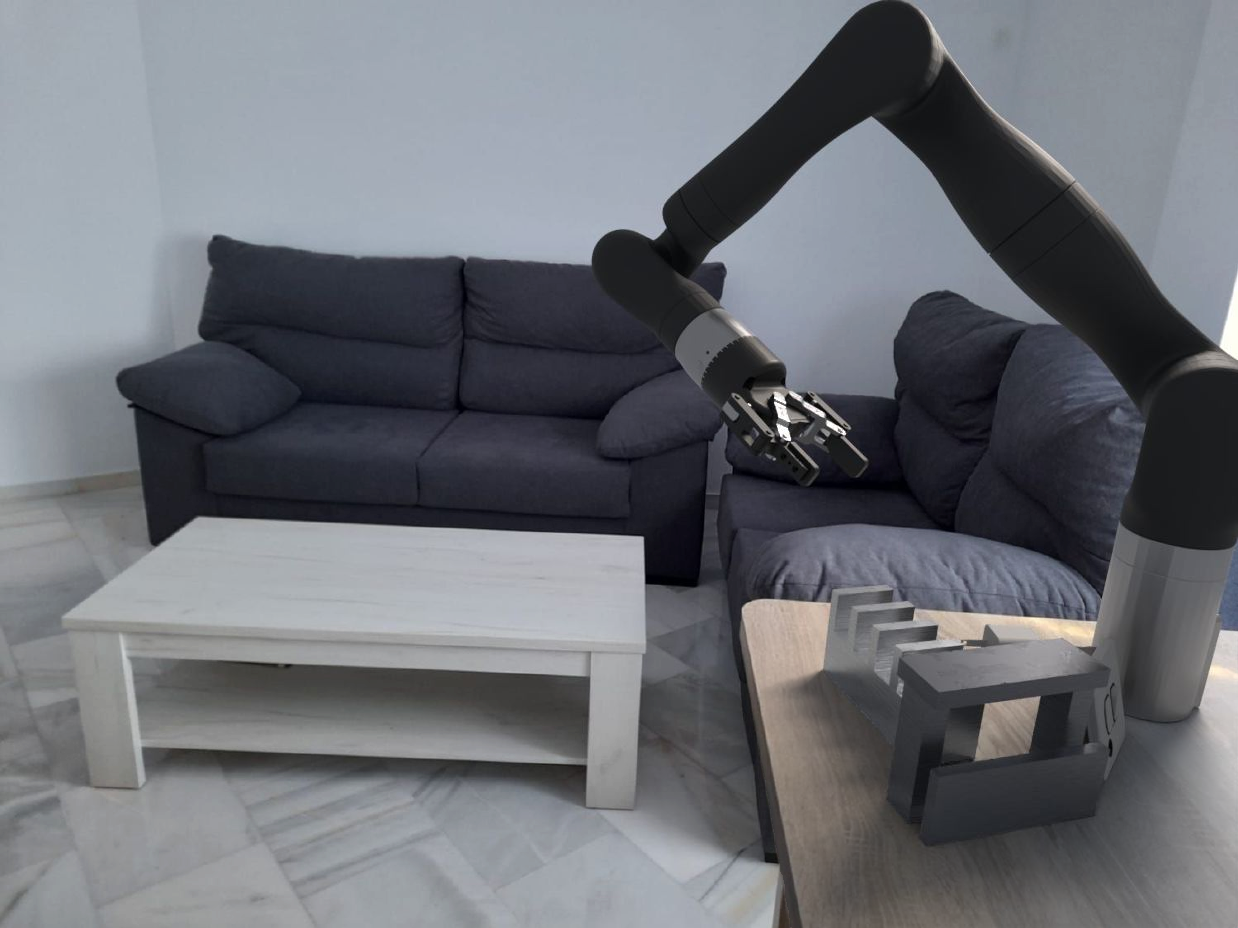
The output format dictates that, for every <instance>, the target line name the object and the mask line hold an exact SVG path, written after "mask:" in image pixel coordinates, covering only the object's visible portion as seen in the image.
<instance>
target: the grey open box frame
mask: <svg viewBox="0 0 1238 928" xmlns="http://www.w3.org/2000/svg"><path fill="white" fill-rule="evenodd" d="M1076 646H1077V645H1075V644H1073V643H1071V642H1069V641H1068V640H1067V639H1065V638H1064V637H1060V638H1059V637H1058V638H1051V639H1050V638H1048V639H1043V640H1040V641H1032V642H1023V643H1015V644H1006V645H998V646H989V647H974V648H967V649H966V648H965V649H964V648H963V650H956V651H947V652H939V653H930V654H922V655H913V656H905V657H899V663H898V670H897V675H898V676H899V677H900V678H901V679H902V680H903V681H904V685H903V692H902V699H901V705H900V712H899V718H898V725H897V731H896V738H895V745H894V746H893V752H892V760H891V767H890V771H889V776H888V777H889V779H888V786H887V790H886V791H887V792H886V800H887V801H888V802H889V803H890V805H891V806H893V808H894V809H895V810H896V812H898V814H899V815H900V816H901V818H903V820H904V821H905V822H906V823H907V824H913V823H919V822H921V826H920V831H919V839H920V840H921V841H922V842H923V843H924V845H926V847H932V846H937V845H943V844H949V843H954V842H959V841H964V840H969V839H974V838H975V839H976V838H981V837H984V836H985V837H986V836H991V835H996V834H1002V833H1007V832H1013V831H1018V830H1024V829H1029V828H1035V827H1039V826H1046V825H1050V824H1055V823H1060V822H1061V823H1062V822H1067V821H1072V820H1077V819H1083V818H1089V817H1094V816H1095V815H1096V812H1097V808H1098V807H1097V806H1098V803H1099V798H1100V794H1101V790H1102V785H1103V782H1104V781H1103V778H1104V774H1105V770H1106V765H1107V761H1108V757H1109V753H1110V749H1109V748H1108V747H1106V746H1105V745H1104V744H1102V743H1101V742H1096V743H1089V744H1083V739H1084V735H1085V730H1086V726H1087V722H1088V717H1089V713H1090V708H1091V704H1092V699H1093V695H1094V691H1095V689H1096V688H1103V687H1107V685H1108V680H1109V676H1110V672H1111V669H1109V668H1108V667H1106V666H1105V665H1103V664H1102V663H1100V662H1099V661H1097V660H1096V659H1094V658H1093V657H1091V656H1090V655H1088V654H1086V653H1085V652H1083V651H1082V650H1080V649H1079V648H1077V647H1078V646H1077V647H1076ZM1037 697H1039V703H1038V707H1037V712H1036V716H1035V721H1034V727H1033V731H1032V736H1031V741H1030V747H1029V751H1028V752H1027V753H1021V754H1015V755H1014V754H1013V755H1009V756H1003V757H997V758H990V759H983V760H982V759H981V760H978V761H970V762H964V763H957V764H952V765H946V766H945V765H944V766H941V764H942V763H941V757H942V751H943V745H944V739H945V734H946V728H947V722H948V716H949V710H950V709H952V708H959V707H966V706H973V705H981V704H985V705H986V704H992V703H1001V702H1008V701H1009V702H1010V701H1015V700H1022V699H1024V700H1025V699H1030V698H1037ZM1082 744H1083V745H1082Z"/></svg>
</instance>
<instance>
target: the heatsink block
mask: <svg viewBox="0 0 1238 928" xmlns="http://www.w3.org/2000/svg"><path fill="white" fill-rule="evenodd" d="M894 590H895V589H894V588H892V587H891V586H889V585H888V584H878V585H869V586H868V585H866V586H860V587H859V586H858V587H845V588H834V589H832V591H831V599H830V608H829V615H828V616H829V617H828V625H827V632H826V643H825V648H824V649H825V650H824V657H823V664H822V665H823V666H822V667H823V668H822V670H823V671H824V672H825V674H827V676H828V677H829V678H830V680H832V681H833V682H834V683H835V684H836V685H837V687H838V688H839V689H840V690H841V691H842V692H843V693H844V694H845V695H846V696H847V698H849V700H850V701H851V702H852V703H854V705H855V706H856V707H857V708H858V709H859V710H860V712H861V713H862V714H863V715H864V716H865V717H866V718H867V719H868V720H869V721H870V722H871V724H872V725H873V726H876V727H875V728H876V729H877V728H878V729H879V730H878V729H877V730H878V731H879V732H880V733H881V734H882V735H883V737H885V739H886V740H887V741H888V742H889V743H890V744H891V745H892V746H893V747H894V745H895V738H896V731H897V725H898V718H899V712H900V705H901V699H902V692H903V685H904V681H903V680H902V679H901V678H900V677H899V676H898V675H897V670H898V663H899V657H905V656H913V655H922V654H930V653H939V652H947V651H956V650H964V647H965V646H964V644H965V643H963V644H962V643H961V640H959V639H957V637H955V638H954V637H952V638H945V639H944V638H943V639H937V635H938V631H939V624H938V623H937V622H936V621H934V620H933V619H931V618H925V619H914V618H915V617H914V616H915V609H916V606H915V605H914V604H913V603H911V602H910V601H909V600H907V601H906V600H905V601H904V600H903V601H896V602H895V601H894V602H893V599H894V598H893V597H894ZM985 707H986V704H981V705H973V706H966V707H959V708H952V709H950V710H949V716H948V722H947V728H946V734H945V739H944V745H943V751H942V757H941V763H940V764H945V763H953V762H960V761H965V760H967V761H968V760H972V759H976V754H977V749H978V744H979V739H980V733H981V727H982V722H983V717H984V712H985Z"/></svg>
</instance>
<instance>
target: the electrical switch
mask: <svg viewBox="0 0 1238 928" xmlns="http://www.w3.org/2000/svg"><path fill="white" fill-rule="evenodd" d="M1075 646H1076V647H1077V648H1079V649H1080V650H1082V651H1083V652H1085V653H1086V654H1088V655H1090V656H1091V657H1093V658H1094V659H1096V660H1097V661H1099V662H1100V663H1102V664H1103V665H1105V666H1106V667H1108V668H1109V669H1111V672H1110V676H1109V680H1108V685H1107V687H1103V688H1096V689H1095V691H1094V695H1093V699H1092V704H1091V708H1090V713H1089V717H1088V722H1087V726H1086V730H1085V735H1084V739H1083V744H1089V743H1096V742H1101V743H1102V744H1104V745H1105V746H1106V747H1108V748H1109V749H1110V753H1109V757H1108V761H1107V765H1106V770H1105V774H1104V778H1103V782H1105V781H1106V782H1107V780H1108V777H1109V775H1110V773H1111V771H1112V768H1113V766H1114V764H1115V760H1116V758H1117V756H1118V754H1119V752H1120V749H1121V747H1122V745H1123V742H1124V739H1125V738H1126V723H1125V722H1126V721H1125V713H1124V710H1123V702H1122V694H1121V686H1120V677H1119V669H1118V663H1117V656H1116V650H1115V644H1114V641H1113V640H1111V639H1104V638H1102V640H1101V642H1100V643H1099V645H1098V647H1091V645H1090V646H1087V645H1086V646H1077V645H1075ZM1083 744H1082V745H1083Z"/></svg>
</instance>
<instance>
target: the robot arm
mask: <svg viewBox="0 0 1238 928" xmlns="http://www.w3.org/2000/svg"><path fill="white" fill-rule="evenodd" d="M869 118H873V120H876V121H877V122H878V123H879V124H880V125H881V126H882V127H884V128H885V129H886V130H888V131H889V133H891V134H892V135H893V136H894V137H895V138H896V139H898V141H900V142H901V143H902V144H903V145H904V146H905V147H906V148H907V149H909V151H911V152H912V153H913V154H914V155H915V156H916V157H917V158H918V159H919V160H920V162H922V164H923V165H924V166H925V167H926V169H928V171H929V172H930V173H931V174H932V176H933V177H934V178H935V180H936V181H937V183H938V185H939V186H940V188H941V189H942V192H943V193H944V195H945V197H946V198H947V199H948V201H949V203H950V204H951V206H952V208H953V209H954V211H955V213H957V215H958V217H959V218H960V220H961V221H962V222H963V224H964V225H965V227H966V228H967V230H968V231H969V233H971V235H972V237H974V239H975V240H976V242H977V243H978V244H979V245H980V246H981V248H982V249H983V251H984V252H986V254H989V255H988V256H989V257H990V258H991V259H992V261H993V262H994V263H995V264H996V265H997V266H998V267H999V268H1000V269H1001V270H1002V272H1003V273H1004V274H1005V275H1006V276H1007V277H1008V278H1009V279H1010V281H1011V282H1013V284H1015V285H1016V286H1017V288H1019V289H1020V290H1021V292H1022V293H1023V294H1025V295H1026V296H1027V297H1028V298H1029V299H1030V300H1031V301H1032V302H1033V303H1035V304H1036V305H1037V306H1038V307H1039V308H1040V309H1042V310H1043V311H1044V312H1045V313H1046V314H1047V315H1049V316H1050V317H1051V318H1053V319H1054V320H1055V321H1057V323H1059V324H1060V325H1062V327H1064V328H1065V329H1067V330H1068V331H1069V332H1071V333H1072V334H1073V335H1074V336H1076V337H1077V338H1079V340H1081V341H1082V342H1083V343H1084V344H1086V345H1087V346H1088V347H1089V348H1090V349H1091V351H1093V353H1095V355H1097V357H1098V358H1099V359H1100V360H1101V361H1102V363H1103V364H1104V365H1105V367H1106V368H1107V369H1108V370H1109V371H1110V373H1111V374H1112V376H1114V379H1116V381H1117V382H1118V383H1119V385H1120V386H1121V388H1122V389H1123V390H1124V392H1125V393H1126V394H1127V396H1128V397H1129V398H1130V400H1131V401H1132V403H1133V405H1134V406H1135V407H1136V409H1137V411H1138V412H1139V414H1140V416H1141V418H1142V420H1143V422H1144V424H1145V426H1144V430H1143V431H1144V432H1143V435H1142V440H1141V445H1140V449H1139V452H1138V457H1137V462H1136V466H1135V471H1134V474H1133V478H1132V481H1131V484H1130V486H1129V489H1128V491H1127V492H1126V494H1125V496H1124V498H1123V501H1122V506H1121V511H1120V515H1119V521H1118V525H1117V529H1116V535H1115V537H1114V543H1113V548H1112V553H1111V557H1110V562H1109V566H1108V570H1107V575H1106V579H1105V584H1104V588H1103V593H1102V596H1101V597H1102V598H1101V602H1100V606H1099V609H1098V616H1097V620H1096V624H1095V629H1094V632H1093V637H1092V642H1091V645H1090V646H1091V647H1098V645H1099V643H1100V642H1101V640H1102V638H1104V639H1111V640H1113V641H1114V644H1115V650H1116V656H1117V663H1118V669H1119V677H1120V686H1121V694H1122V702H1123V710H1124V715H1125V714H1126V715H1128V716H1131V717H1136V718H1137V719H1138V718H1139V719H1144V720H1148V721H1154V722H1162V723H1165V722H1172V723H1173V722H1176V721H1177V722H1178V721H1182V720H1185V719H1187V718H1189V716H1190V715H1191V713H1192V710H1193V709H1194V708H1198V707H1201V704H1202V699H1203V695H1204V692H1205V689H1206V686H1207V685H1206V684H1207V681H1208V677H1209V673H1210V670H1211V666H1212V662H1213V658H1214V656H1215V652H1216V651H1215V650H1216V648H1217V643H1218V640H1219V637H1220V633H1221V629H1222V625H1223V620H1224V619H1223V617H1222V615H1221V614H1220V613H1219V610H1220V607H1221V602H1222V599H1223V596H1224V591H1225V587H1226V584H1227V581H1228V576H1229V573H1230V568H1231V565H1232V561H1233V557H1234V553H1235V550H1236V546H1237V542H1238V359H1237V358H1235V357H1234V356H1232V355H1231V354H1230V353H1227V351H1225V350H1224V349H1222V348H1221V347H1220V346H1219V345H1217V344H1216V343H1215V342H1214V341H1213V340H1212V339H1210V338H1209V337H1208V336H1207V335H1206V334H1204V333H1203V331H1201V330H1200V329H1199V328H1198V327H1197V326H1196V325H1194V324H1193V323H1192V322H1191V321H1190V320H1189V319H1188V318H1187V317H1186V316H1184V315H1183V314H1182V313H1181V312H1180V311H1179V309H1177V308H1176V307H1175V306H1174V305H1173V303H1171V301H1170V300H1169V299H1168V298H1167V296H1165V295H1164V294H1163V293H1162V291H1161V289H1160V288H1159V287H1158V286H1157V284H1156V282H1155V281H1154V280H1153V278H1152V276H1151V275H1150V273H1149V272H1148V270H1147V268H1146V266H1145V265H1144V263H1143V262H1142V260H1141V259H1140V257H1139V255H1138V254H1137V252H1136V251H1135V250H1134V248H1133V247H1132V245H1131V244H1130V242H1129V241H1128V239H1127V238H1126V236H1125V235H1124V233H1122V231H1121V230H1120V229H1119V228H1118V226H1117V225H1116V224H1115V222H1114V221H1113V219H1111V218H1110V216H1109V214H1108V213H1107V212H1106V211H1105V210H1104V209H1103V207H1101V206H1100V204H1099V203H1098V202H1097V201H1096V200H1095V199H1094V198H1093V197H1092V196H1091V194H1090V193H1088V191H1087V190H1086V189H1085V188H1084V187H1083V186H1082V185H1081V184H1080V183H1079V182H1078V181H1077V180H1076V178H1075V177H1074V176H1073V175H1072V174H1071V173H1069V171H1067V170H1066V169H1065V167H1063V166H1062V165H1061V164H1060V163H1059V162H1058V161H1057V160H1055V159H1054V158H1053V157H1052V156H1051V155H1050V154H1049V153H1048V152H1047V151H1045V150H1044V149H1043V148H1042V147H1041V146H1039V145H1038V144H1037V143H1036V142H1035V141H1033V140H1032V139H1031V138H1029V137H1028V136H1027V135H1025V134H1024V133H1023V132H1021V131H1020V130H1019V129H1018V128H1016V127H1014V125H1012V124H1011V123H1009V122H1008V121H1007V120H1006V119H1004V118H1003V117H1002V116H1001V115H999V114H998V113H997V112H996V111H995V110H994V109H993V108H992V107H991V106H990V105H989V104H988V103H987V102H986V101H985V99H983V96H981V95H980V94H979V93H978V91H977V89H976V88H975V87H974V86H973V85H972V83H971V82H970V81H969V79H968V77H966V75H965V74H964V72H963V71H962V70H961V68H959V65H958V64H957V63H956V62H955V60H954V59H953V57H952V56H951V54H950V53H949V51H948V50H947V49H946V47H945V45H944V43H943V41H942V39H941V38H940V36H939V33H938V32H937V31H936V29H935V27H934V25H933V23H932V22H931V21H930V19H929V17H927V15H926V14H925V13H924V11H922V9H920V8H919V7H918V6H917V5H914V4H912V3H911V2H908V1H905V0H877V1H874V2H871V3H869V4H867V5H865V6H863V7H862V8H860V9H858V10H857V11H856V12H854V14H853V15H852V16H851V17H850V18H849V19H848V20H847V21H846V22H845V23H844V24H843V26H842V27H841V28H840V29H839V30H838V31H837V32H836V34H835V35H834V36H833V37H832V38H831V39H830V40H829V42H828V43H827V44H826V45H825V46H824V48H823V49H822V50H821V51H820V53H818V55H817V56H816V57H815V58H814V59H813V61H812V62H811V63H810V64H809V65H808V67H807V68H806V69H805V70H804V71H803V72H802V74H801V75H800V76H799V77H798V78H797V79H796V81H795V82H794V83H792V84H791V86H790V87H789V88H788V89H787V90H786V91H785V92H784V93H783V94H782V95H781V96H780V97H779V98H778V99H777V101H776V102H774V104H772V106H771V107H770V108H769V109H767V111H766V112H765V113H763V114H762V115H761V116H760V117H759V118H758V119H757V120H756V121H755V122H754V123H753V124H752V125H750V126H749V128H747V129H746V130H745V131H744V132H743V133H742V134H741V135H740V136H738V137H737V138H736V139H735V140H733V142H731V144H729V145H728V146H727V147H726V148H724V149H723V150H722V151H721V152H720V153H719V154H718V155H716V156H715V157H714V158H713V159H711V161H710V162H708V163H707V164H706V165H705V166H704V167H702V168H701V169H700V170H699V171H698V172H696V173H695V174H694V175H693V176H692V177H691V178H689V179H688V180H687V181H686V182H685V183H684V184H682V186H681V187H680V188H679V187H678V189H677V190H676V191H674V193H673V194H671V196H669V197H668V198H667V200H666V202H665V203H663V207H662V212H661V213H662V214H661V216H662V220H663V223H664V225H665V229H664V230H663V232H661V234H660V235H659V236H658V237H656V238H654V239H652V238H650V237H647V236H646V235H644V234H642V233H640V232H638V231H636V230H631V229H627V228H626V229H625V228H621V229H620V228H619V229H615V230H612V231H608V232H606V233H605V234H604V235H602V237H600V239H599V240H597V242H596V244H595V246H594V247H593V250H592V254H591V260H590V261H591V270H592V274H593V277H594V279H595V281H596V283H597V285H598V286H599V287H600V289H601V290H602V291H603V292H604V294H605V295H607V296H608V298H609V299H611V300H612V301H613V302H614V303H616V305H618V306H619V307H620V308H621V309H622V310H624V311H625V312H627V313H628V314H629V315H631V316H632V317H633V318H634V319H635V320H637V321H638V322H640V323H641V324H643V325H644V326H645V327H646V328H648V329H649V330H650V331H651V332H652V333H653V334H654V335H655V336H656V338H657V339H658V340H659V341H660V343H661V344H662V345H663V346H664V347H665V348H666V349H667V350H668V352H670V353H671V354H672V355H673V356H674V358H675V359H676V360H677V361H678V363H680V365H681V366H682V368H683V370H684V372H686V374H687V375H688V376H689V378H691V380H692V381H694V383H695V384H696V385H697V387H699V388H700V389H701V390H702V391H703V393H705V394H706V395H707V397H709V399H710V400H711V402H713V403H714V404H715V405H716V406H717V407H718V409H720V411H719V412H718V417H719V418H720V420H721V421H722V422H723V423H724V424H725V425H726V426H727V428H728V429H729V430H730V431H731V432H732V434H734V435H735V437H736V438H737V439H738V440H739V441H740V442H741V444H742V445H743V446H744V447H745V448H746V450H748V452H749V453H750V454H751V455H752V456H754V457H756V458H757V457H761V456H762V454H765V456H766V457H767V458H768V459H769V460H772V461H777V462H778V463H779V464H780V465H781V466H782V467H783V469H785V471H786V472H787V473H788V474H789V475H790V476H791V477H792V478H793V479H794V480H795V482H797V484H798V485H800V486H801V487H808V486H810V485H811V484H813V482H814V481H815V480H816V478H817V477H818V476H819V474H820V473H821V470H820V466H819V465H818V464H817V463H815V460H813V459H812V458H811V457H810V456H809V455H808V454H807V453H806V452H805V451H804V450H803V449H802V448H801V447H800V446H799V444H797V443H796V441H798V442H800V443H802V444H803V445H805V446H807V445H808V446H809V445H810V444H812V445H814V446H816V447H817V448H819V449H821V450H823V451H825V452H826V453H827V455H828V456H829V457H830V458H831V459H832V460H833V461H834V462H835V464H837V465H838V466H839V467H840V468H841V469H842V470H843V471H844V472H845V473H846V475H848V476H849V477H850V478H851V479H853V478H854V479H855V478H859V477H860V476H861V475H862V474H863V473H864V472H865V470H866V469H867V468H868V467H869V465H870V462H869V460H868V458H867V457H866V456H865V455H863V453H862V452H861V451H860V450H859V449H857V448H856V446H854V445H853V444H852V443H851V442H850V441H849V440H848V439H847V438H846V437H845V436H846V435H847V434H848V433H849V431H850V430H851V429H852V428H851V426H850V425H849V423H847V422H846V421H845V420H844V419H843V418H842V417H841V416H840V415H839V414H837V413H836V412H835V411H834V410H833V409H832V408H831V407H830V406H829V405H828V404H827V403H826V402H824V400H822V399H821V398H820V397H819V396H818V395H817V394H816V393H815V392H814V391H811V390H806V391H805V394H804V395H802V396H801V395H800V394H797V393H796V392H794V391H792V390H791V389H789V388H787V384H786V383H787V382H786V381H787V380H786V379H787V373H788V372H787V366H786V364H785V363H784V362H783V361H782V360H781V359H780V358H779V357H778V356H777V355H776V354H775V353H774V352H773V351H772V350H771V349H770V348H769V347H768V346H767V345H766V344H765V343H764V342H763V341H762V340H761V339H760V338H759V337H758V336H756V335H755V334H754V333H753V332H752V330H751V329H750V328H748V326H746V324H744V323H743V322H742V321H741V320H740V319H738V318H737V317H735V316H734V315H733V314H731V313H730V312H729V311H728V310H726V309H725V308H724V307H723V305H722V304H721V303H719V302H718V301H717V300H716V299H715V298H714V297H713V296H712V295H711V294H710V293H709V292H708V291H707V290H706V289H704V288H703V287H702V286H700V285H699V284H697V283H696V282H694V281H692V280H690V279H691V278H692V276H693V275H694V274H695V272H697V270H698V269H699V268H700V266H701V265H702V264H703V263H704V261H705V260H706V258H707V257H708V255H709V253H710V252H711V251H712V250H713V249H714V248H715V247H717V246H718V245H719V244H721V243H722V242H724V241H725V240H726V239H727V238H729V236H731V235H733V234H734V233H735V232H736V231H737V230H739V229H740V228H741V227H742V226H743V225H745V224H746V223H748V221H750V220H751V219H752V218H753V217H754V216H756V215H757V214H758V213H759V212H760V211H761V210H762V209H763V208H764V207H765V206H766V205H767V204H769V202H770V201H771V200H772V199H773V198H775V196H776V195H777V194H778V193H779V191H781V189H783V187H784V186H785V185H786V184H787V183H788V181H789V180H790V179H792V178H793V176H794V175H795V174H796V173H798V171H800V169H801V168H802V167H803V166H804V165H805V164H806V163H807V162H808V161H810V160H811V159H812V158H813V157H814V156H815V155H817V154H818V153H819V152H820V151H822V149H824V148H825V147H826V146H828V145H829V144H831V142H833V141H835V140H836V139H837V138H838V137H840V136H841V135H843V134H844V133H847V132H848V131H849V130H851V129H852V128H854V127H855V126H856V127H857V126H858V125H859V124H861V123H863V122H865V121H866V120H867V119H869ZM807 426H808V427H807ZM806 428H807V429H806ZM805 429H806V430H805ZM752 430H753V431H755V435H756V438H755V439H753V437H752V436H751V432H752ZM818 435H819V436H818ZM792 439H794V440H796V441H791V440H792Z"/></svg>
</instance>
